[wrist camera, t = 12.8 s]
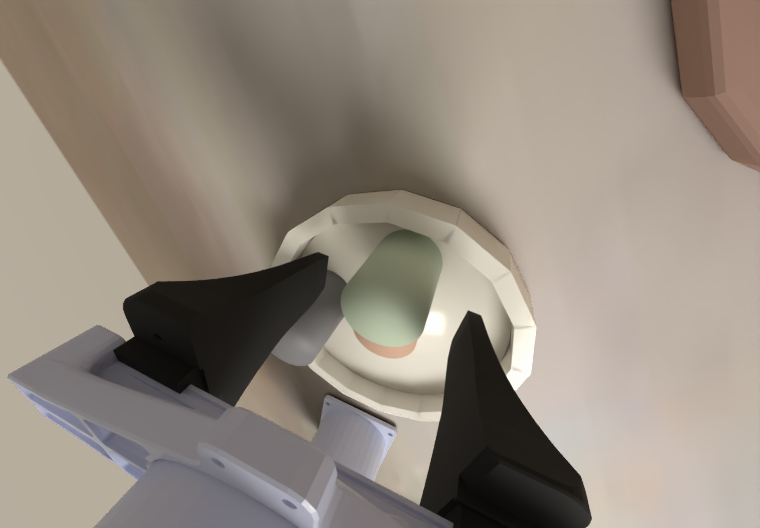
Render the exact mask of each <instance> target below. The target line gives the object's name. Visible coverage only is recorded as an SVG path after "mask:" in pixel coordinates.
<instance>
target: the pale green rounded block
mask: <svg viewBox="0 0 760 528" xmlns="http://www.w3.org/2000/svg"><path fill="white" fill-rule="evenodd" d="M442 266H443V260H442V255H441V252H440V250H439V248H438V247H437V245H436V244H435V243H434V242H433V241H432V240H431V239H430V238H429V237H428V236H425V235H422V234H419V233H416V232H414V231H411V230H407V229H404V230H397V231H394V232H392V233H390V234H388V235H387V236H385V237H384V239H383V240H382V241H381V242H380V243H379V245H378V246H377V247H376V248H375V250H374V251H373V252H372V253H371V255H370V256H369V257H368V258H367V260H366V261H365V262H364V263H363V265H362V266H361V267H360V268H359V270H358V271H357V272H356V273H355V275H354V276H353V277H352V278H351V280H350V281H349V282H348V283H347V285H346V286H345V287H344V289H343V291H342V294H341V300H340V302H341V309H342V312H343V315H344V317H345V319H346V320H347V322H348V323H349V325H350V326H351V327H352V328H353V329H354V330H355V331H356V332H357V333H358V334H360V335H361V336H362V337H364V338H365V339H367V340H369V341H371V342H373V343H376V344H379V345H382V346H387V347H401V346H405V345H409V344H411V343H413V342H414V341H416V340H417V339H418V338H419V337H420V336H421V335H422V333H423V331H424V328H425V325H426V321H427V318H428V315H429V311H430V308H431V305H432V301H433V298H434V294H435V291H436V288H437V284H438V281H439V277H440V274H441V271H442Z"/></svg>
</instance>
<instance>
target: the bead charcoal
mask: <svg viewBox="0 0 760 528" xmlns="http://www.w3.org/2000/svg"><path fill="white" fill-rule="evenodd" d="M346 285H347V283H346V282H345V281H344V279H343V278H341V277H340V276H339V275H338V274H336V273H334V272H332V271H330V270H327V275H326V283H325V288H324V289H323V291H322V292H321V294H320V295H319V297H318V298H317V299H316V301H315V302H314V303H313V304H312V306H311V307H310V308H309V309H308V310H307V311H306V312H305V313H304V314H303V315H302V316H301V317H300V319H299V320H298V321H297V322H296V323H295V324H294V325H293V326H292V327H291V328H290V329H289V330H288V331H287V333H286V334H285V335H284V336H283V337H282V338H281V340H280V341H279V342H278V344H277V345H276V346H275V348H274V349H273V350H272V352H271V353H272V354H273V355H274V356H276V357H277V358H279V359H280V360H282V361H284V362H286V363H288V364H291V365H295V366H306V365H309V364H311V363H312V362H313V361H314V359H315V358H316V356H317V355H318V353H319V352H320V351H321V349H322V348H323V346H324V345H325V343H326V342H327V340H328V339H329V338H330V336H331V335H332V333H333V332H334V330H335V329H336V328H337V326H338V325H339V323H340V322H341V320H342V319H343V317H344V315H343V312H342V309H341V302H340V300H341V294H342V291H343V289H344V287H345V286H346Z"/></svg>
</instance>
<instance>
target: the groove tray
mask: <svg viewBox="0 0 760 528" xmlns="http://www.w3.org/2000/svg"><path fill="white" fill-rule="evenodd" d="M404 229H407V230H411V231H414V232H416V233H419V234H422V235H425V236H428V237H429V238H430V239H431V240H432V241H433V242H434V243H435V244H436V245H437V247H438V248H439V250H440V252H441V255H442V260H443V266H442V271H441V274H440V277H439V281H438V284H437V288H436V291H435V294H434V298H433V301H432V305H431V308H430V311H429V315H428V318H427V321H426V325H425V328H424V331H423V333H422V335H421V336H420V337H419V338H418V339H417V340H416V341H414V342H413V343H411V344H409V345H405V346H401V347H387V346H382V345H379V344H376V343H373V342H371V341H369V340H367V339H365V338H364V337H362V336H361V335H360V334H358V333H357V332H356V331H355V330H354V329H353V328H352V327H351V326H350V325H349V323H348V322H347V320H346V319H345V317H343V319H342V320H341V322H340V323H339V325H338V326H337V328H336V329H335V330H334V332H333V333H332V335H331V336H330V338H329V339H328V340H327V342H326V343H325V345H324V346H323V348H322V349H321V351H320V352H319V353H318V355H317V356H316V358H315V359H314V361H313V362H312V363H311V364H309V365H308V366H309V367H310V368H311V369H312V370H313V371H314V372H316V373H317V374H318V375H319V376H321V377H322V378H323V379H325V380H326V381H327V382H328V383H330V384H331V385H332V386H334V387H335V388H336V389H337V390H339V391H340V392H341V393H343V394H344V395H346V396H349V397H351V398H353V399H355V400H357V401H359V402H361V403H363V404H365V405H367V406H369V407H371V408H374V409H376V410H378V411H380V412H383V413H388V414H392V415H396V416H400V417H405V418H409V419H413V420H418V421H440V417H441V412H442V406H443V397H444V388H445V378H446V369H447V360H448V355H449V350H450V346H451V342H452V339H453V337H454V335H455V333H456V331H457V330H458V328H459V326H460V324H461V322H462V320H463V318H464V317H465V315H466V313H467V311H468V310H469V311H471V312H474V313H477V314H479V315H481V316H482V319H483V322H484V324H485V327H486V330H487V333H488V336H489V338H490V341H491V344H492V346H493V348H494V351H495V353H496V356H497V358H498V360H499V362H500V364H501V366H502V368H503V371H504V373H505V375H506V376H507V378H508V380H509V382H510V384H511V385H512V387H513V389H514V390H515V391H516V390H517V389H518V388H519V387H520V385H521V384H522V383H523V382H524V381H525V380H526V379H527V377H528V376H529V375H530V374H531V368H532V359H533V351H534V343H535V334H536V322H535V317H534V312H533V307H532V303H531V298H530V296H529V293H528V291H527V289H526V287H525V285H524V282H523V280H522V278H521V276H520V274H519V271H518V269H517V267H516V265H515V263H514V260H513V258H512V256H511V254H510V252H509V249H508V248H506V247H505V246H504V245H503V244H502V243H501V242H499V241H498V240H497V239H496V238H495V237H494V236H492V235H491V234H490V233H489V232H488V231H486V230H485V229H484V228H483V227H482V226H481V225H479V224H478V223H477V222H476V221H475V220H474V219H472V218H471V217H470V216H469V215H468V214H466V213H465V212H464V211H463V210H462V209H460V208H457V207H454V206H451V205H448V204H444V203H441V202H438V201H435V200H432V199H429V198H426V197H423V196H420V195H417V194H414V193H411V192H408V191H404V190H392V191H381V192H370V193H359V194H348V195H346V196H345V197H343V198H341V199H340V200H338V201H337V202H335V203H333V204H332V205H330V206H328V207H327V208H325V209H324V210H322V211H320V212H319V213H317V214H316V215H314V216H312V217H311V218H309V219H307V220H306V221H304V222H303V223H301V224H299V225H298V226H296V227H295V228H293V229H291V230H290V231H288V233H287V235H286V237H285V239H284V241H283V243H282V245H281V246H280V248H279V250H278V252H277V254H276V256H275V258H274V260H273V262H272V264H271V266H270V268H272V267H275V266H279V265H282V264H285V263H288V262H291V261H294V260H297V259H299V258H302V257H305V256H308V255H310V254H313V253H317V252H320V253H322V254H325V255H327V256H329V259H328V267H327V270H330V271H332V272H334V273H336V274H338V275H339V276H340V277H341V278H343V279H344V281H345V282H346V283H348V282H349V281H350V280H351V278H352V277H353V276H354V275H355V273H356V272H357V271H358V270H359V268H360V267H361V266H362V265H363V263H364V262H365V261H366V260H367V258H368V257H369V256H370V255H371V253H372V252H373V251H374V250H375V248H376V247H377V246H378V245H379V243H380V242H381V241H382V240H383V239H384V237H385V236H387V235H388V234H390V233H392V232H394V231H397V230H404Z"/></svg>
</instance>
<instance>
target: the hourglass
mask: <svg viewBox="0 0 760 528" xmlns="http://www.w3.org/2000/svg"><path fill="white" fill-rule="evenodd" d="M671 7H672V15H673V23H674V31H675V39H676V47H677V56H678V64H679V72H680V80H681V88H682V96H683V98H684V99H685V101H686V102H687V103H688V105H689V106H690V107H691V108H692V110H693V111H694V112H695V114H696V115H697V116H698V117H699V119H700V120H701V121H702V123H703V124H704V125H705V127H706V128H707V129H708V130H709V132H710V133H711V134H712V136H713V137H714V138H715V139H716V141H717V142H718V143H719V145H720V146H721V147H722V149H723V150H724V151H725V152H726V154H727V155H728V156H729V158H730V159H732V160H734V161H736V162H738V163H741V164H743V165H745V166H748V167H750V168H752V169H755V170H757V171H759V172H760V0H672V1H671Z"/></svg>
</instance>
